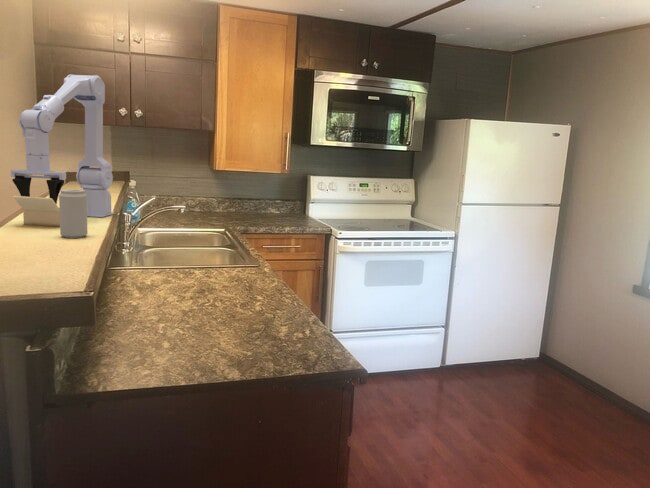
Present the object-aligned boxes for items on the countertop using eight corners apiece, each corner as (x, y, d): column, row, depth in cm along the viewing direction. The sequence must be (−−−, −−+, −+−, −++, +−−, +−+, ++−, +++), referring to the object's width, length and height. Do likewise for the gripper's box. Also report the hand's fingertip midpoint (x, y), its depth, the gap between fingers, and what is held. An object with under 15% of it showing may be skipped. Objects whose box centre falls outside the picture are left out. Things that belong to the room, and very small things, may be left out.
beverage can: (92, 235, 144) (91, 189, 141) (79, 239, 137) (77, 191, 135) (69, 233, 144) (68, 188, 142) (55, 237, 138) (53, 190, 136)
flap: (13, 195, 148) (13, 196, 148) (51, 198, 148) (51, 199, 148) (23, 208, 153) (23, 209, 153) (60, 210, 153) (60, 211, 153)
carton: (35, 221, 160) (35, 206, 159) (72, 223, 160) (72, 208, 159) (23, 224, 154) (23, 208, 153) (62, 226, 154) (61, 211, 153)
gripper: (2, 153, 145) (5, 204, 148) (55, 156, 145) (58, 207, 148) (18, 153, 152) (20, 201, 155) (69, 156, 152) (71, 204, 155)
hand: (39, 204), depth 152 cm, fingers open, 7 cm apart
